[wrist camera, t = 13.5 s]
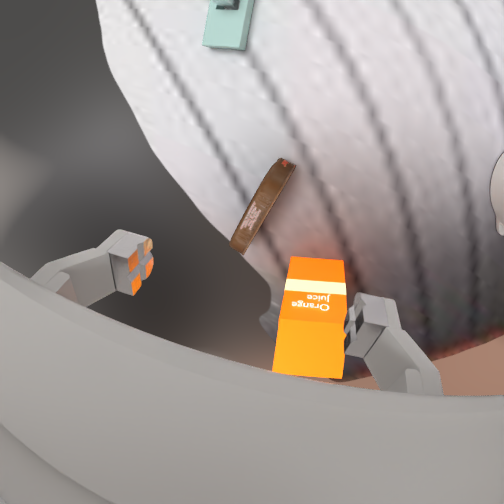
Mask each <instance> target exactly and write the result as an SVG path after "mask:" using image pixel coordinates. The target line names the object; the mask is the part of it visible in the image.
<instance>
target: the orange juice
mask: <svg viewBox="0 0 504 504" xmlns="http://www.w3.org/2000/svg"><path fill="white" fill-rule="evenodd" d="M346 314H347V304H346V284H345V275H344V263H343V260H329V259H316V258H302V257H291V260H290V266H289V271H288V276H287V280H286V285H285V292H284V297H283V302H282V307H281V312H280V317H279V327H278V335H277V342H276V349H275V356H274V364H273V370H272V371H273V372H277V373H282V374H292V375H302V376H313V377H326V378H342V373H343V365H344V356H345V354H344V339H345V337H346V334H345V333H344V331H343V326H344V320H345V316H346Z"/></svg>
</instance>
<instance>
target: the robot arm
mask: <svg viewBox="0 0 504 504" xmlns="http://www.w3.org/2000/svg"><path fill="white" fill-rule="evenodd" d="M490 195H491V203H492V206H493V209H494V212H495V215H496V229H497V232H498V233H499V234H500V235H503V236H504V153H503V154H502V155H501V157H500V158H499V160H498V162H497V164H496V166H495V168H494V171H493V175H492V179H491V187H490ZM151 249H152V240H151V239H150V238H147V237H144V236H141V235H138V234H134V233H131V232H127V231H124V230H117V231H115V232H114V233H113V234H112V235H111V236H110V237H109V238H107V239H106V240H105V241H104V242H103V243H102V244H101V245H100V246H99V247H98V248H97V249H95V248H92V249H88V250H85V251H82V252H79V253H76V254H73V255H70V256H67V257H64V258H61V259H58V260H55V261H52V262H49V263H46V265H44V266H43V267H42V268H41V269H40V270H39V271H38V272H37V273H36V274H35V275H34V276H33V277H31V278H30V279H29V278H27V277H25V276H24V275H22V274H20V273H18V272H17V271H15V270H13V269H11V268H10V267H8V266H7V265H5V264H3V263H1V262H0V504H504V395H491V396H445V395H444V394H443V389H442V384H441V379H440V374H439V371H438V370H437V368H436V367H435V366H434V365H433V363H432V362H431V361H430V360H429V359H428V357H427V356H426V355H425V354H424V353H423V351H422V350H421V349H420V348H419V347H418V345H417V344H416V343H415V342H414V341H413V339H412V338H411V337H410V336H409V335H408V334H407V332H406V331H405V330H402V329H401V325H400V320H399V316H398V312H397V307H396V303H395V301H394V300H393V299H389V298H384V297H382V298H381V297H377V296H373V295H369V294H365V293H360V292H358V293H357V294H356V296H355V298H354V306H352V307H350V308H349V309H348V312H347V314H346V316H345V320H344V326H343V331H344V333H345V334H346V337H345V339H344V354H347V355H352V356H357V357H361V358H364V361H365V363H366V364H367V366H368V368H369V370H370V372H371V373H372V375H373V377H374V379H375V380H376V382H377V384H378V386H379V388H380V390H381V391H380V390H371V389H364V388H356V387H350V386H344V385H337V384H332V383H326V382H320V381H315V380H310V379H305V378H300V377H295V376H291V375H286V374H282V373H277V372H273V371H268V370H265V369H261V368H257V367H252V366H249V365H245V364H241V363H238V362H234V361H230V360H227V359H224V358H220V357H217V356H213V355H210V354H207V353H204V352H201V351H197V350H194V349H191V348H188V347H185V346H182V345H179V344H176V343H173V342H170V341H167V340H165V339H162V338H159V337H156V336H154V335H151V334H148V333H146V332H142V331H141V330H138V329H135V328H132V327H130V326H128V325H125V324H123V323H120V322H118V321H116V320H113V319H111V318H109V317H106V316H104V315H102V314H99V313H97V312H95V311H93V310H90V309H88V308H86V307H87V306H89V305H90V304H92V303H94V302H96V301H98V300H100V299H101V298H103V297H105V296H107V295H109V294H111V293H113V292H114V291H116V290H118V291H120V292H123V293H126V294H130V295H132V296H133V295H134V294H135V293H136V292H137V290H138V289H139V288H140V286H141V280H144V279H146V278H147V277H148V276H149V274H150V273H151V269H152V267H153V256H152V254H151V253H150V250H151Z"/></svg>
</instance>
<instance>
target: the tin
mask: <svg viewBox="0 0 504 504" xmlns="http://www.w3.org/2000/svg"><path fill="white" fill-rule="evenodd" d="M295 167H296V165H293V164H291V163H290V162H288V161H286V160H284V159H282V158H279V159H278V160H277V162H276V163H275V164H274V165H273V166H272V167H271V168H270V170H269V171H268V173H267V174H266V176H265V177H264V179H263V181H262V182H261V184H260V186H259V188H258V189H257V191H256V193H255V195H254V196H253V198H252V200H251V202H250V204H249V206H248V207H247V209H246V211H245V213H244V215H243V217H242V219H241V220H240V222H239V224H238V226H237V228H236V230H235V232H234V234H233V236H232V238H231V240H230V243H229V245H230V247H231V248H233V249H234V250H236V251H238V252H240V253H241V254H242V255H244V253H245V252H246V250H247V248H248V247H249V245H250V243H251V242H252V240H253V238H254V237H255V235H256V233H257V232H258V230H259V228H260V227H261V225H262V223H263V221H264V220H265V218H266V216H267V215H268V213H269V211H270V210H271V208H272V206H273V205H274V203H275V201H276V200H277V198H278V196H279V195H280V193H281V191H282V190H283V188H284V186H285V184H286V183H287V181H288V179H289V177H290V176H291V174H292V172H293V171H294V169H295Z"/></svg>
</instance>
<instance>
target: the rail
mask: <svg viewBox="0 0 504 504" xmlns="http://www.w3.org/2000/svg"><path fill="white" fill-rule="evenodd" d="M253 5H254V0H240V4H239V9H238V10H224V6H218V5H216V4H215V3H214V2H212V1H211V0H210V4H209V9H208V14H207V20H206V25H205V31H204V36H203V42H202V45H203V46H206V47H209V48H224V49H236V50H245V47H246V42H247V36H248V31H249V25H250V20H251V15H252V10H253Z"/></svg>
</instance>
